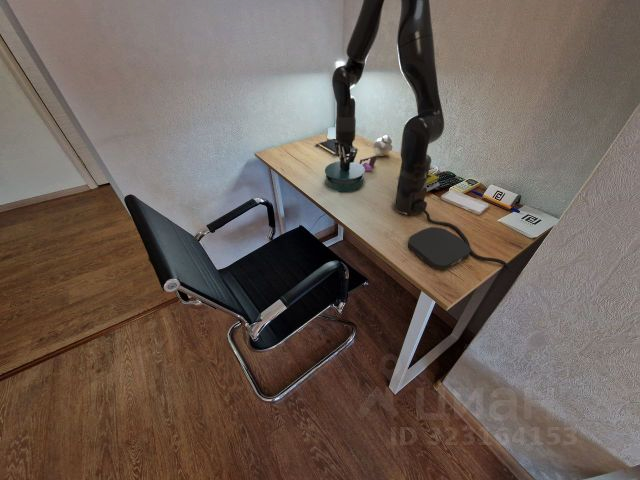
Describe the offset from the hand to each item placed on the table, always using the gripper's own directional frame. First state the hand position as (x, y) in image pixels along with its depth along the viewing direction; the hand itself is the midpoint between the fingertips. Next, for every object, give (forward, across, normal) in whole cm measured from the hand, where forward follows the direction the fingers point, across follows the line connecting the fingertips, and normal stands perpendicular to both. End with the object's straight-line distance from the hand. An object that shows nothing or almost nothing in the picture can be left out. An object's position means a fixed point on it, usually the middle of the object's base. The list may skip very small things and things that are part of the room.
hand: (344, 169), depth 111 cm
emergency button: (+6, +17, +27) cm, 33 cm away
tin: (+6, 0, 0) cm, 6 cm away
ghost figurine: (+7, -13, +31) cm, 34 cm away
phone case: (+6, +38, +29) cm, 48 cm away
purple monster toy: (+7, -3, +15) cm, 17 cm away
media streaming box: (+6, +51, +1) cm, 52 cm away
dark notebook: (+7, -35, +17) cm, 39 cm away
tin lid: (+1, 0, 0) cm, 1 cm away
